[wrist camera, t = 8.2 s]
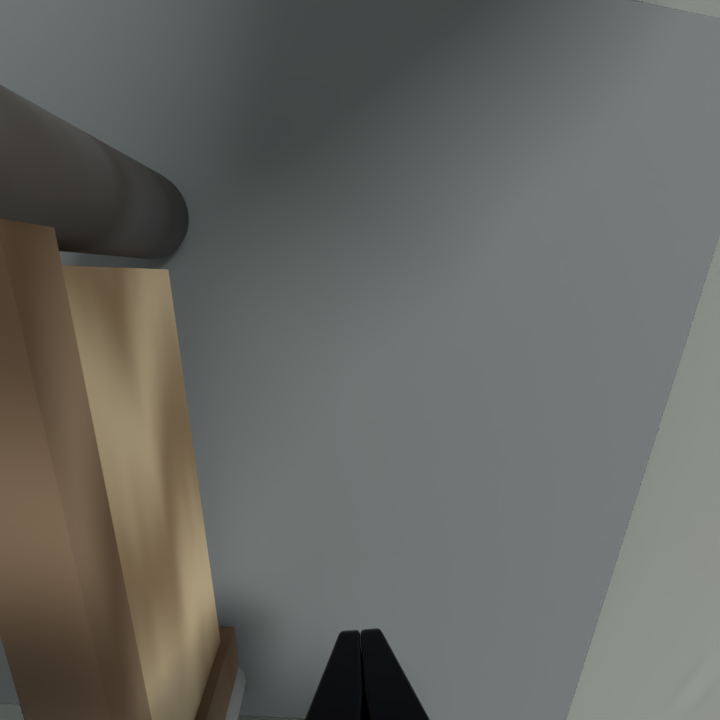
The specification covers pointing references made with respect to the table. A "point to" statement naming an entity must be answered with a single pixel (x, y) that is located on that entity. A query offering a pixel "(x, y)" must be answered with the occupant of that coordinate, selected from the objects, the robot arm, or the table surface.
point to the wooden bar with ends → (97, 442)
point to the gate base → (409, 307)
